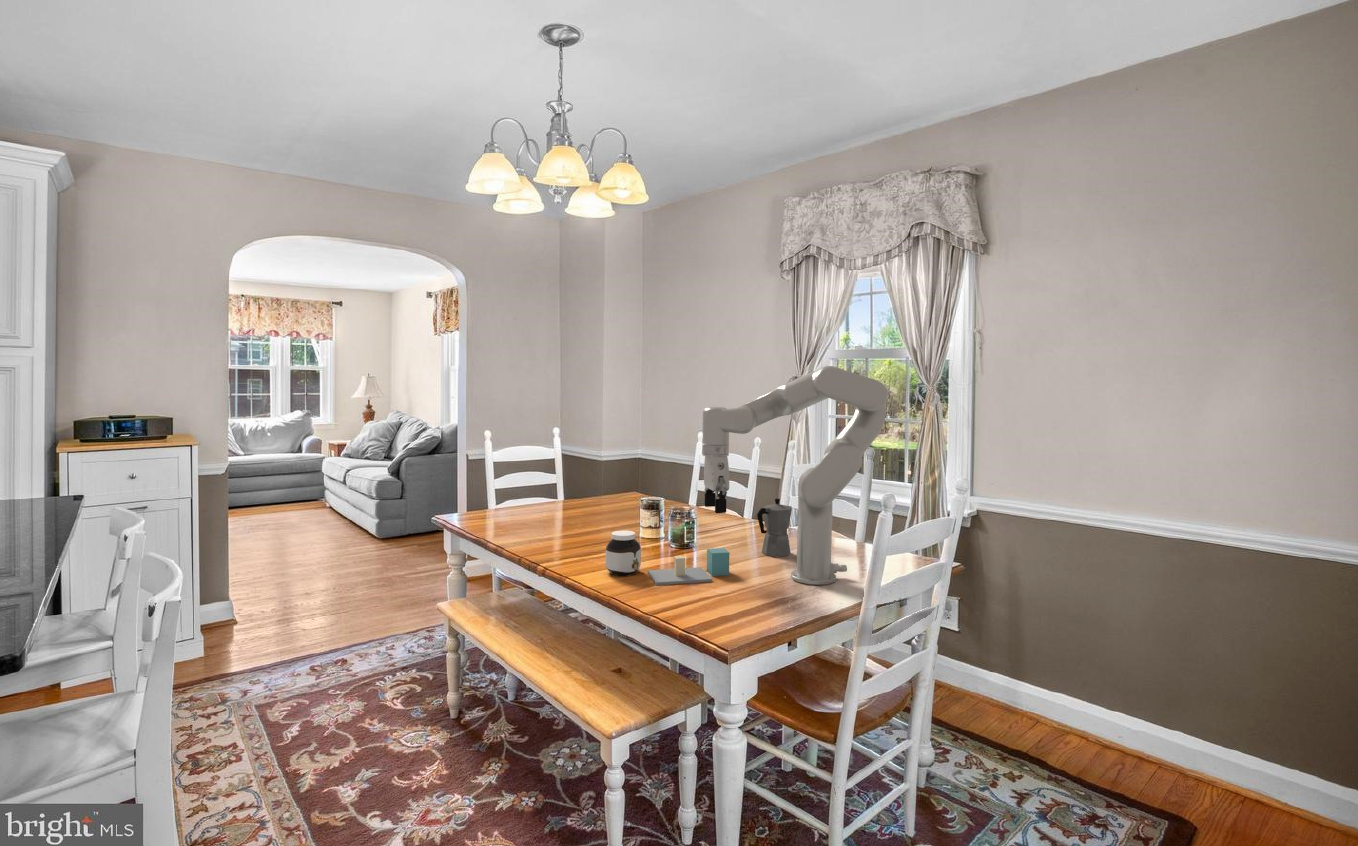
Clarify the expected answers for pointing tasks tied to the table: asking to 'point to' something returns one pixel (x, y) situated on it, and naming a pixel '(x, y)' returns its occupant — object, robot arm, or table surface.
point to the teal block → (717, 561)
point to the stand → (679, 574)
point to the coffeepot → (775, 529)
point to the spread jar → (623, 554)
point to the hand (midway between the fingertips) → (715, 509)
